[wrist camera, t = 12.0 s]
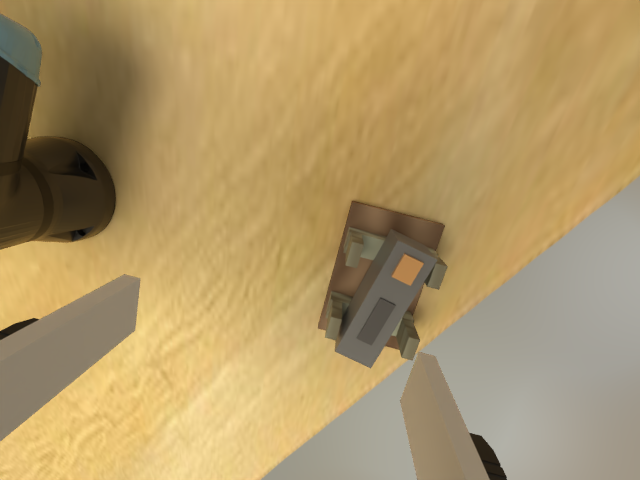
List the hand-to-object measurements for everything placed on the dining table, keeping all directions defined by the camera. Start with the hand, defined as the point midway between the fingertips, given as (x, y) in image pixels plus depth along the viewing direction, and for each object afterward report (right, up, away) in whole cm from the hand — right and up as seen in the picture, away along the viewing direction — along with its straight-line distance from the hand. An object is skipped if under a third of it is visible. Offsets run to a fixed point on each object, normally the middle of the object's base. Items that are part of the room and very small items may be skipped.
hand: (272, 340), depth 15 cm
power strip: (+10, -2, +29) cm, 31 cm away
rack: (+11, -1, +33) cm, 35 cm away
